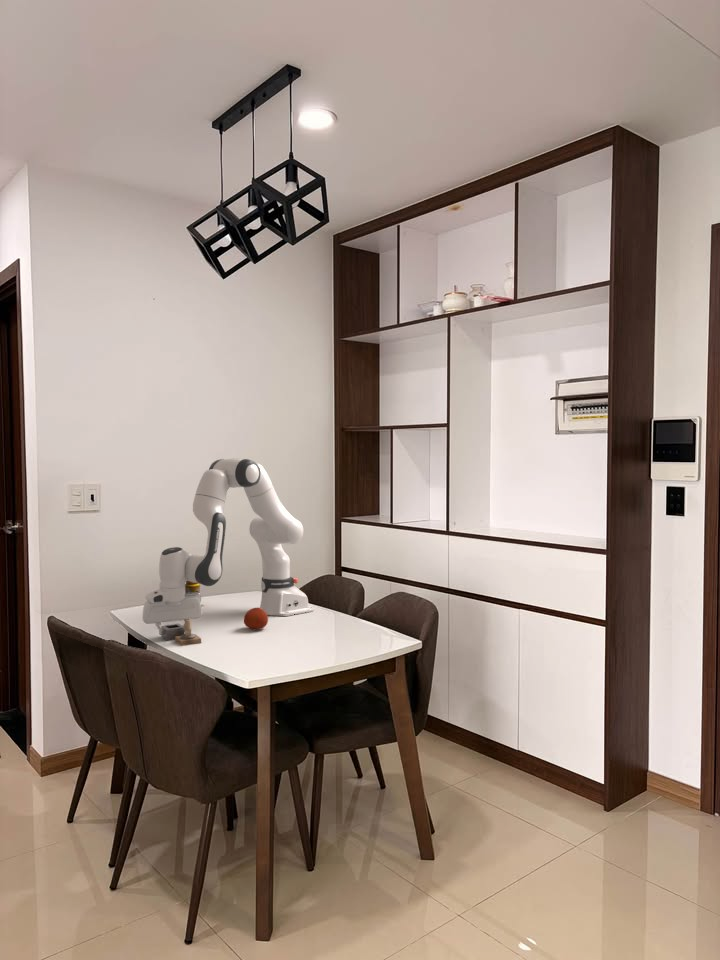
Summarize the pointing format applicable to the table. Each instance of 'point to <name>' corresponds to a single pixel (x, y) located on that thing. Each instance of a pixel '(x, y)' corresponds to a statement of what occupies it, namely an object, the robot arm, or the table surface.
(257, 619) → the fruit
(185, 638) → the post block
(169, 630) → the grey square frame
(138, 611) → the table surface
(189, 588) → the condiment
